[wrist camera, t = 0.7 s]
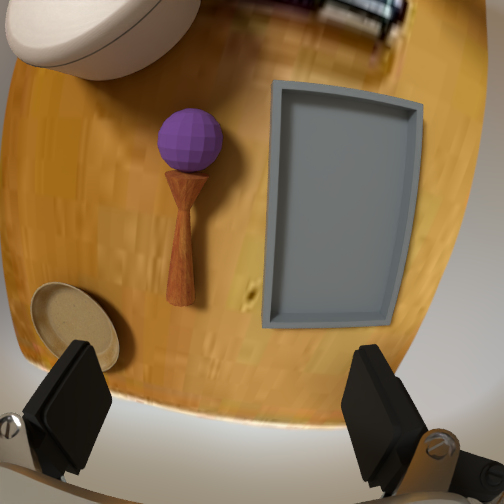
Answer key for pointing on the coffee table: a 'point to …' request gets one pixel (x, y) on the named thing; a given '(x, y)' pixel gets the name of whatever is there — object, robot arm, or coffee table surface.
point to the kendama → (186, 187)
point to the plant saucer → (73, 321)
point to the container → (96, 33)
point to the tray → (338, 204)
